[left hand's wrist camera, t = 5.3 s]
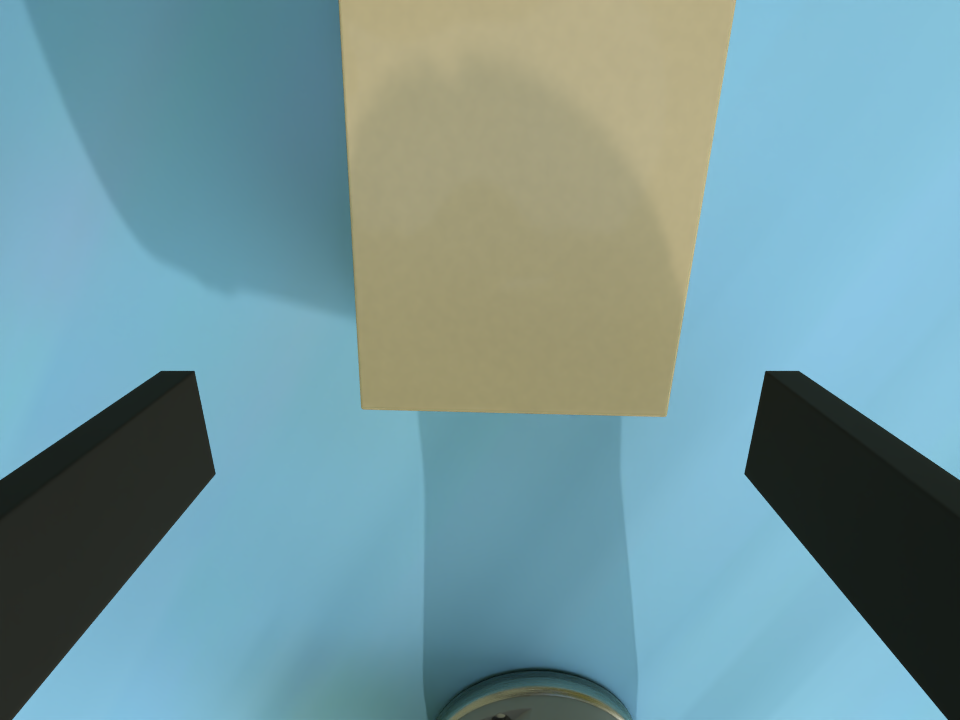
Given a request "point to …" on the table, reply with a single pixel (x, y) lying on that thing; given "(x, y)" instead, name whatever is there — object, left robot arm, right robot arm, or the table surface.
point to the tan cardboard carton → (526, 197)
